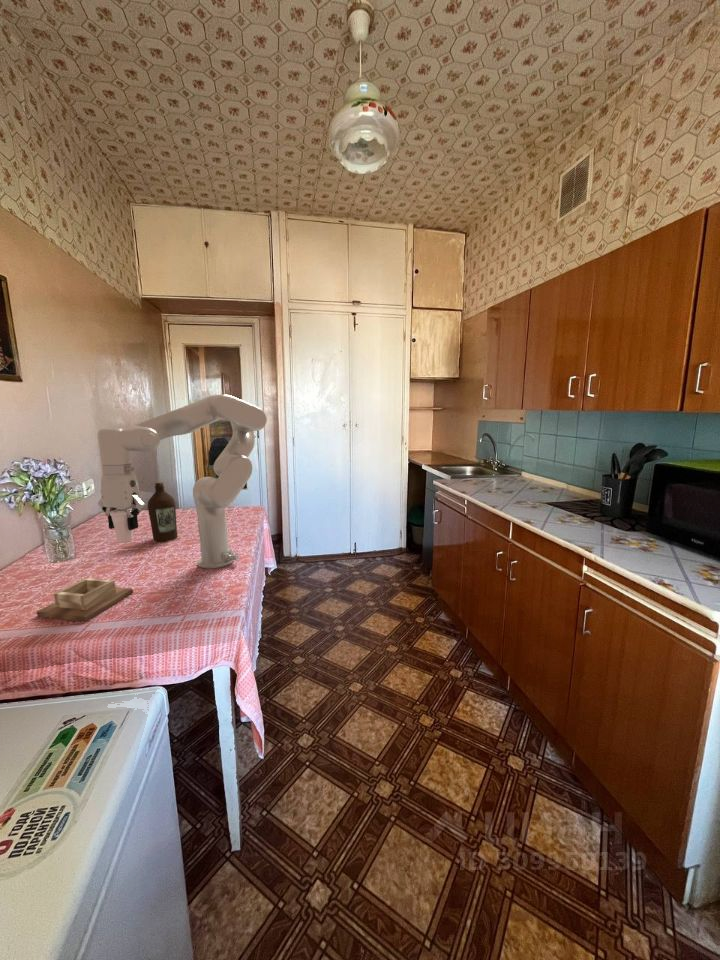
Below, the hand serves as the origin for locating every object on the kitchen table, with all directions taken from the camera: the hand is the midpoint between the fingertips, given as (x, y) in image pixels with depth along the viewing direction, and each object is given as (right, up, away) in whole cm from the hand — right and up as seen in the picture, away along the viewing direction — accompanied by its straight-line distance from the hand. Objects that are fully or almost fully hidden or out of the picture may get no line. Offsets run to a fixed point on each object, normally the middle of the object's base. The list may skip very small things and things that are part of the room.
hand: (123, 527), depth 115 cm
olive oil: (-13, -11, +50) cm, 53 cm away
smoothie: (0, -4, +1) cm, 4 cm away
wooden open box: (-7, -22, -6) cm, 23 cm away
